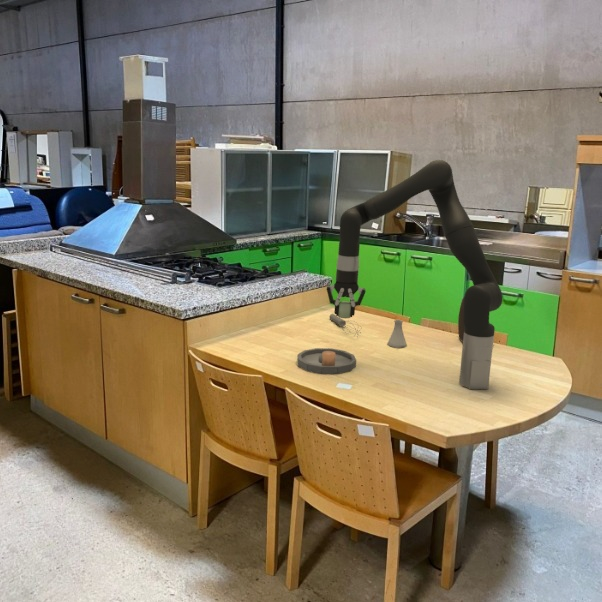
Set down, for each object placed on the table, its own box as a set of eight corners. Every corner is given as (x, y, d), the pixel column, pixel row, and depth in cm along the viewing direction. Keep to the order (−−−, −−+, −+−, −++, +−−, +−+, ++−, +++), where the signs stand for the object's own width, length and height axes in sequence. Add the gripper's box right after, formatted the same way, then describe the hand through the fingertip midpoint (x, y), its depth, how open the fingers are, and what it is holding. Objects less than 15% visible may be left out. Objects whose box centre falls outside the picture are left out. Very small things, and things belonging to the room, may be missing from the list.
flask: (383, 344, 236) (385, 319, 234) (396, 341, 241) (398, 317, 238) (397, 349, 231) (399, 324, 228) (410, 346, 235) (412, 321, 233)
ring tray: (359, 374, 203) (359, 367, 203) (299, 373, 202) (299, 366, 201) (350, 355, 223) (350, 348, 222) (295, 354, 221) (296, 348, 220)
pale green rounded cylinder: (352, 318, 211) (353, 304, 210) (341, 318, 210) (342, 304, 209) (347, 314, 215) (348, 300, 214) (336, 315, 214) (336, 301, 213)
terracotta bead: (337, 367, 206) (338, 353, 204) (326, 369, 203) (327, 355, 202) (330, 364, 209) (330, 350, 208) (319, 365, 207) (319, 351, 206)
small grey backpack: (454, 337, 249) (459, 289, 244) (474, 337, 250) (479, 289, 245) (468, 348, 234) (473, 298, 229) (489, 348, 235) (494, 298, 230)
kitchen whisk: (336, 317, 274) (337, 304, 273) (363, 340, 243) (364, 325, 241) (323, 318, 272) (324, 304, 271) (349, 341, 241) (350, 325, 239)
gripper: (368, 267, 211) (364, 314, 216) (327, 264, 212) (324, 311, 217) (368, 271, 204) (364, 320, 208) (326, 268, 205) (323, 317, 210)
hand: (344, 315), depth 212 cm, fingers closed on pale green rounded cylinder, 4 cm apart
